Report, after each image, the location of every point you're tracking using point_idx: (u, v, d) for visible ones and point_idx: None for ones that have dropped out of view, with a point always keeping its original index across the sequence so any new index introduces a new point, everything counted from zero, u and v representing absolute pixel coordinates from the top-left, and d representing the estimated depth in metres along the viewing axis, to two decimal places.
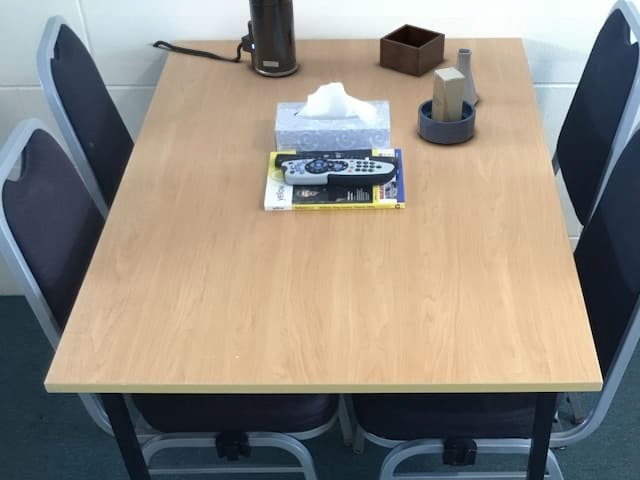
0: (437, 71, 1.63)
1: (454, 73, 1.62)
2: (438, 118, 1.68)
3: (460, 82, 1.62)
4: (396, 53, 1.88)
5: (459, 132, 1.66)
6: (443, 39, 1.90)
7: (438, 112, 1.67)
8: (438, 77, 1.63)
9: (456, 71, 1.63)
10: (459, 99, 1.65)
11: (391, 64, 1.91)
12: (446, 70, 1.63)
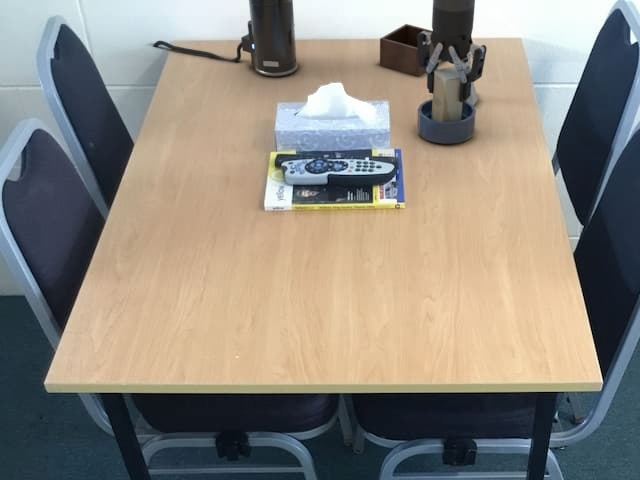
0: (437, 71, 1.63)
1: (453, 73, 1.62)
2: (438, 118, 1.68)
3: (460, 82, 1.62)
4: (396, 53, 1.88)
5: (459, 132, 1.66)
6: None
7: (438, 112, 1.67)
8: (437, 77, 1.63)
9: (456, 71, 1.63)
10: None
11: (391, 64, 1.91)
12: (446, 70, 1.63)
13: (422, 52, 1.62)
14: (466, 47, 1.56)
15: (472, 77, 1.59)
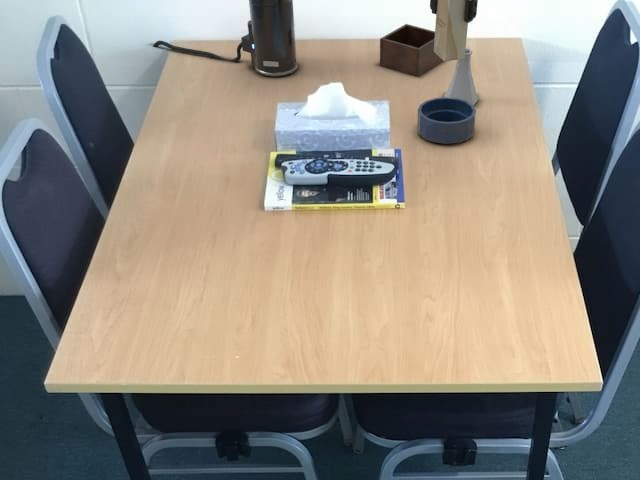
0: None
1: None
2: (442, 41, 1.57)
3: (465, 0, 1.51)
4: (396, 53, 1.88)
5: (459, 132, 1.66)
6: None
7: (441, 34, 1.56)
8: None
9: None
10: None
11: (391, 64, 1.91)
12: None
13: None
14: None
15: None
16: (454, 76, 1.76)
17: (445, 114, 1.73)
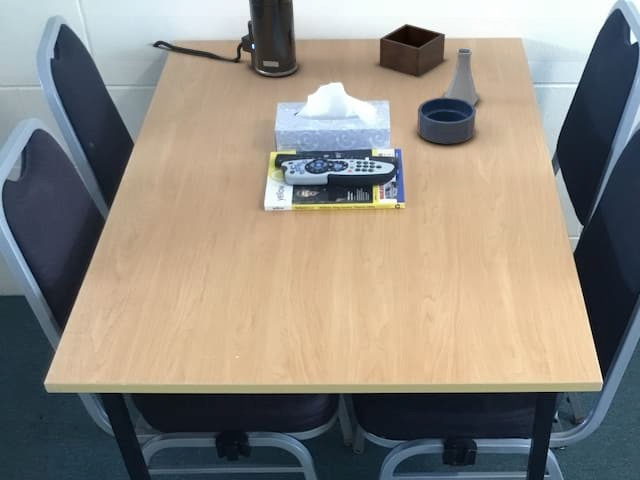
0: None
1: None
2: None
3: None
4: (396, 53, 1.88)
5: (459, 132, 1.66)
6: (443, 39, 1.90)
7: None
8: None
9: None
10: None
11: (391, 64, 1.91)
12: None
13: None
14: None
15: None
16: (454, 76, 1.76)
17: (445, 114, 1.73)
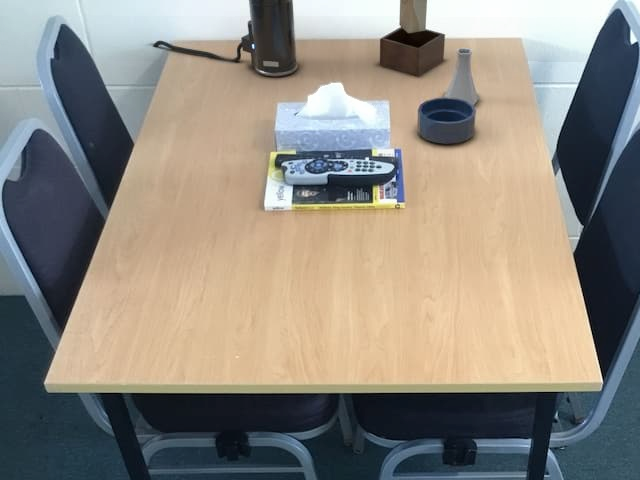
0: None
1: None
2: (405, 15, 1.85)
3: None
4: (396, 53, 1.88)
5: (459, 132, 1.66)
6: (443, 39, 1.90)
7: (405, 9, 1.84)
8: None
9: None
10: None
11: (391, 64, 1.91)
12: None
13: None
14: None
15: None
16: (454, 76, 1.76)
17: (445, 114, 1.73)
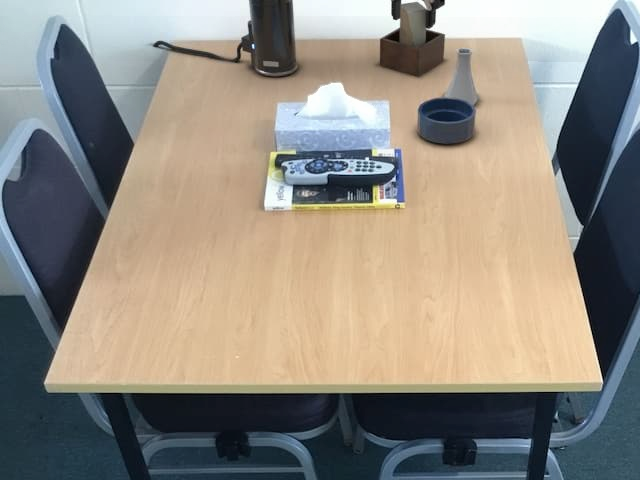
0: (403, 5, 1.85)
1: (417, 6, 1.84)
2: None
3: (423, 14, 1.84)
4: (396, 53, 1.88)
5: (459, 132, 1.66)
6: (443, 39, 1.90)
7: (404, 42, 1.89)
8: (403, 9, 1.85)
9: (419, 5, 1.85)
10: (422, 30, 1.87)
11: (391, 64, 1.91)
12: (411, 4, 1.85)
13: None
14: None
15: (436, 4, 1.80)
16: (454, 76, 1.76)
17: (445, 114, 1.73)
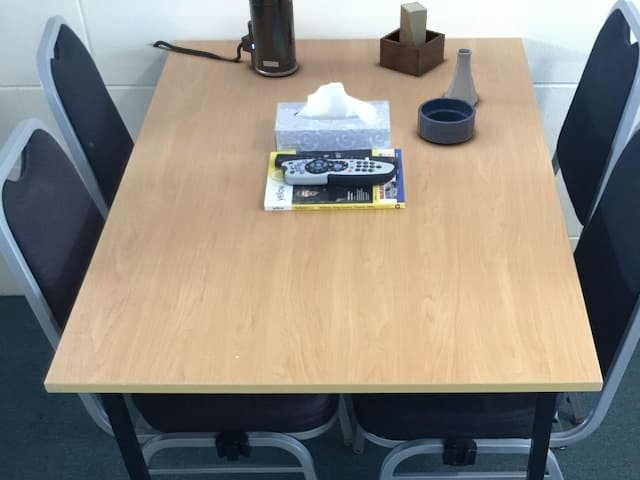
0: (403, 5, 1.85)
1: (417, 6, 1.84)
2: None
3: (423, 14, 1.84)
4: (396, 53, 1.88)
5: (459, 132, 1.66)
6: (443, 39, 1.90)
7: (404, 42, 1.89)
8: (403, 9, 1.85)
9: (420, 5, 1.85)
10: (422, 30, 1.87)
11: (391, 64, 1.91)
12: (411, 4, 1.85)
13: None
14: None
15: None
16: (454, 76, 1.76)
17: (445, 114, 1.73)
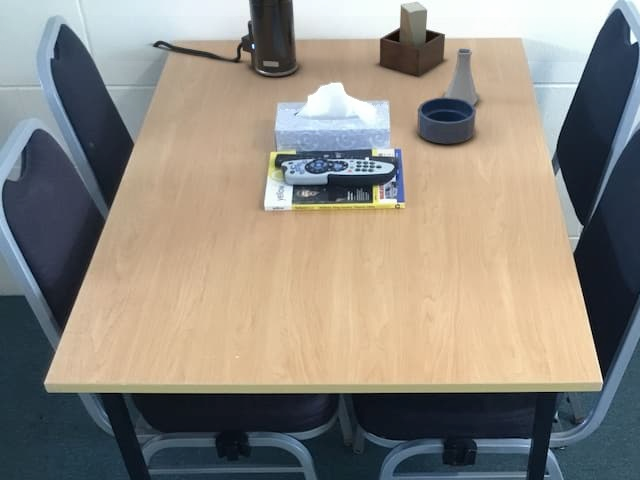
0: (403, 5, 1.85)
1: (417, 6, 1.84)
2: None
3: (423, 14, 1.84)
4: (396, 53, 1.88)
5: (459, 132, 1.66)
6: (443, 39, 1.90)
7: (404, 42, 1.89)
8: (403, 10, 1.85)
9: (420, 5, 1.85)
10: (423, 30, 1.87)
11: (391, 64, 1.91)
12: (411, 4, 1.85)
13: None
14: None
15: None
16: (454, 76, 1.76)
17: (445, 114, 1.73)
